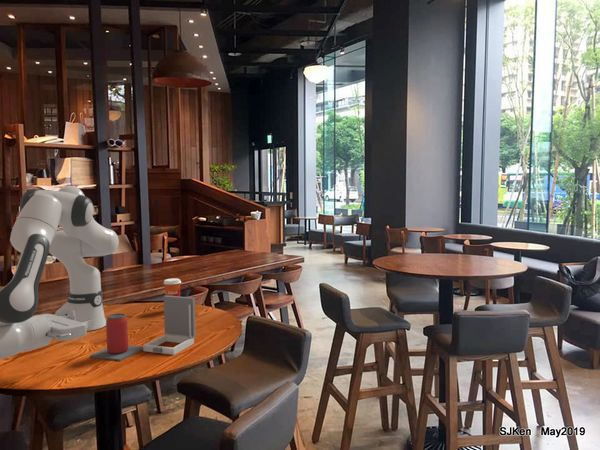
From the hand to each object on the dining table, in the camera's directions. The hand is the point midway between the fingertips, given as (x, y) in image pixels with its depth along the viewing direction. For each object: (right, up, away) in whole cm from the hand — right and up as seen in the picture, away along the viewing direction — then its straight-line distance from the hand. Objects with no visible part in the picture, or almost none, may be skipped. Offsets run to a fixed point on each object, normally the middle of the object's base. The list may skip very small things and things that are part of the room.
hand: (82, 319), depth 145 cm
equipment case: (+22, -13, +16) cm, 30 cm away
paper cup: (+10, -9, +66) cm, 67 cm away
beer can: (+7, -13, +11) cm, 18 cm away
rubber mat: (+7, -13, +11) cm, 18 cm away
